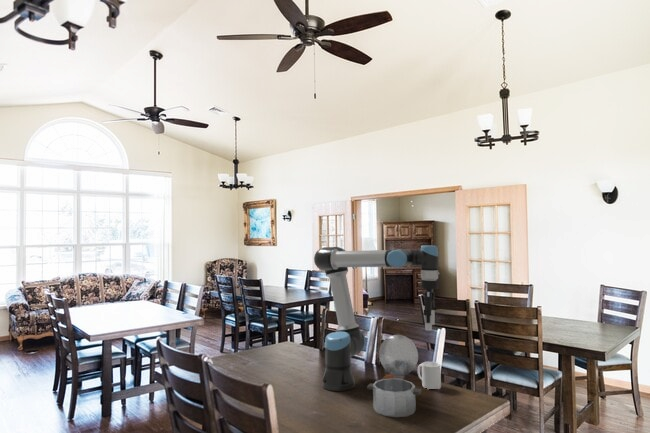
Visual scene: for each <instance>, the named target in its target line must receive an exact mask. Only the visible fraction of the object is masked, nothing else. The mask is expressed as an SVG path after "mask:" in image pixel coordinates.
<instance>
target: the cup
mask: <svg viewBox="0 0 650 433" xmlns="http://www.w3.org/2000/svg"><path fill="white" fill-rule="evenodd" d="M417 376H418V378H419V380H421V384H422V387H423V389H425V388H427V389H426V390H429V389H438V390H440V389H441V388H442V379H441V378H442V372H441V363H439V362H436V361H424V362H421V363H420V364H419V365H418V366H417Z"/></svg>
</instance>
